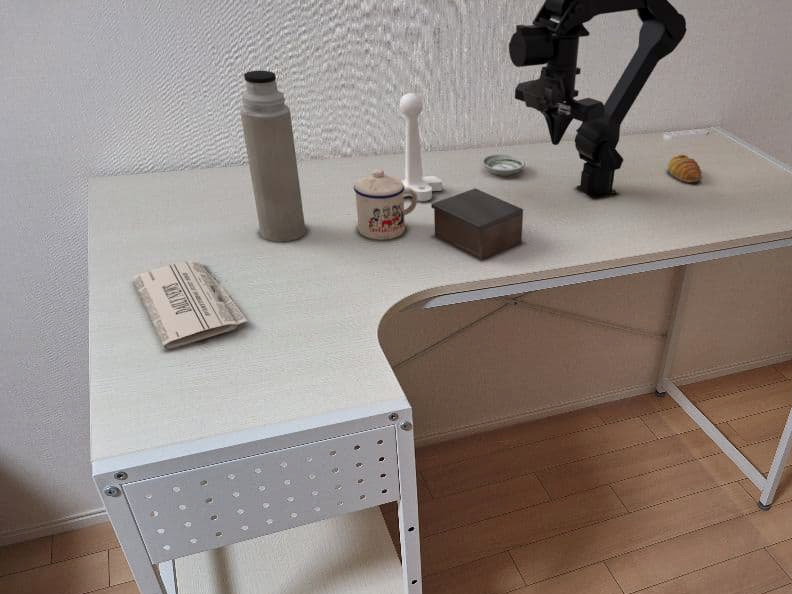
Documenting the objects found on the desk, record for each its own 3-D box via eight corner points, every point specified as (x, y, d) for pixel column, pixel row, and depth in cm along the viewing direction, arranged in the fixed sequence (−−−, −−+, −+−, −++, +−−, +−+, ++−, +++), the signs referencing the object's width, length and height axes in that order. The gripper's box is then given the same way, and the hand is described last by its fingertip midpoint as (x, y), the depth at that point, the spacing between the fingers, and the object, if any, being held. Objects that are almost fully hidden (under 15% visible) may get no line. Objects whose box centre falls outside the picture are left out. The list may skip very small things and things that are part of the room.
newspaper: (251, 329, 116) (247, 316, 114) (168, 357, 111) (162, 343, 109) (211, 264, 130) (206, 251, 129) (135, 286, 125) (130, 273, 124)
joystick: (432, 184, 164) (430, 87, 152) (450, 196, 160) (449, 97, 148) (385, 193, 159) (379, 93, 147) (402, 207, 154) (398, 105, 142)
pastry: (707, 183, 175) (710, 167, 173) (681, 185, 173) (684, 169, 171) (689, 168, 182) (692, 152, 180) (663, 170, 180) (666, 154, 178)
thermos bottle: (277, 219, 146) (253, 63, 129) (313, 228, 144) (294, 71, 127) (251, 236, 140) (223, 75, 123) (289, 245, 138) (266, 83, 121)
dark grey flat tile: (479, 230, 134) (479, 226, 134) (431, 207, 141) (431, 203, 140) (523, 213, 141) (523, 209, 141) (475, 192, 148) (475, 188, 147)
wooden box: (481, 260, 138) (482, 229, 135) (434, 236, 145) (434, 206, 141) (521, 243, 145) (523, 213, 141) (474, 221, 151) (475, 192, 148)
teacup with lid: (369, 244, 140) (364, 183, 133) (349, 225, 146) (344, 165, 139) (428, 232, 146) (426, 173, 139) (407, 214, 152) (405, 156, 145)
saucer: (472, 172, 171) (472, 162, 170) (497, 160, 178) (497, 150, 176) (508, 183, 167) (509, 173, 166) (532, 171, 174) (533, 160, 173)
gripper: (496, 57, 144) (494, 140, 154) (572, 80, 135) (564, 167, 145) (536, 49, 151) (531, 128, 161) (610, 71, 142) (601, 154, 152)
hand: (555, 144), depth 154 cm, fingers closed
